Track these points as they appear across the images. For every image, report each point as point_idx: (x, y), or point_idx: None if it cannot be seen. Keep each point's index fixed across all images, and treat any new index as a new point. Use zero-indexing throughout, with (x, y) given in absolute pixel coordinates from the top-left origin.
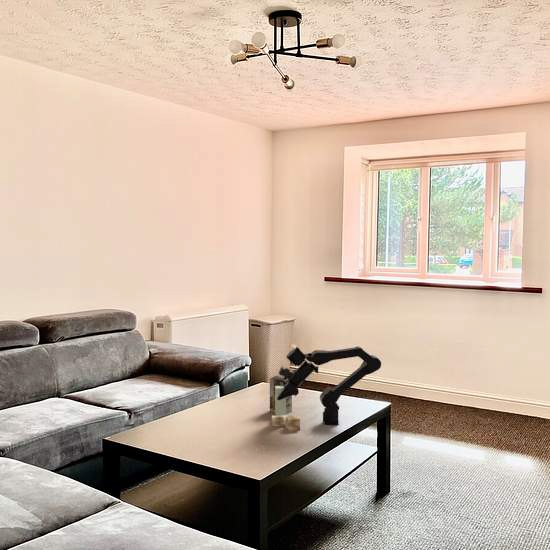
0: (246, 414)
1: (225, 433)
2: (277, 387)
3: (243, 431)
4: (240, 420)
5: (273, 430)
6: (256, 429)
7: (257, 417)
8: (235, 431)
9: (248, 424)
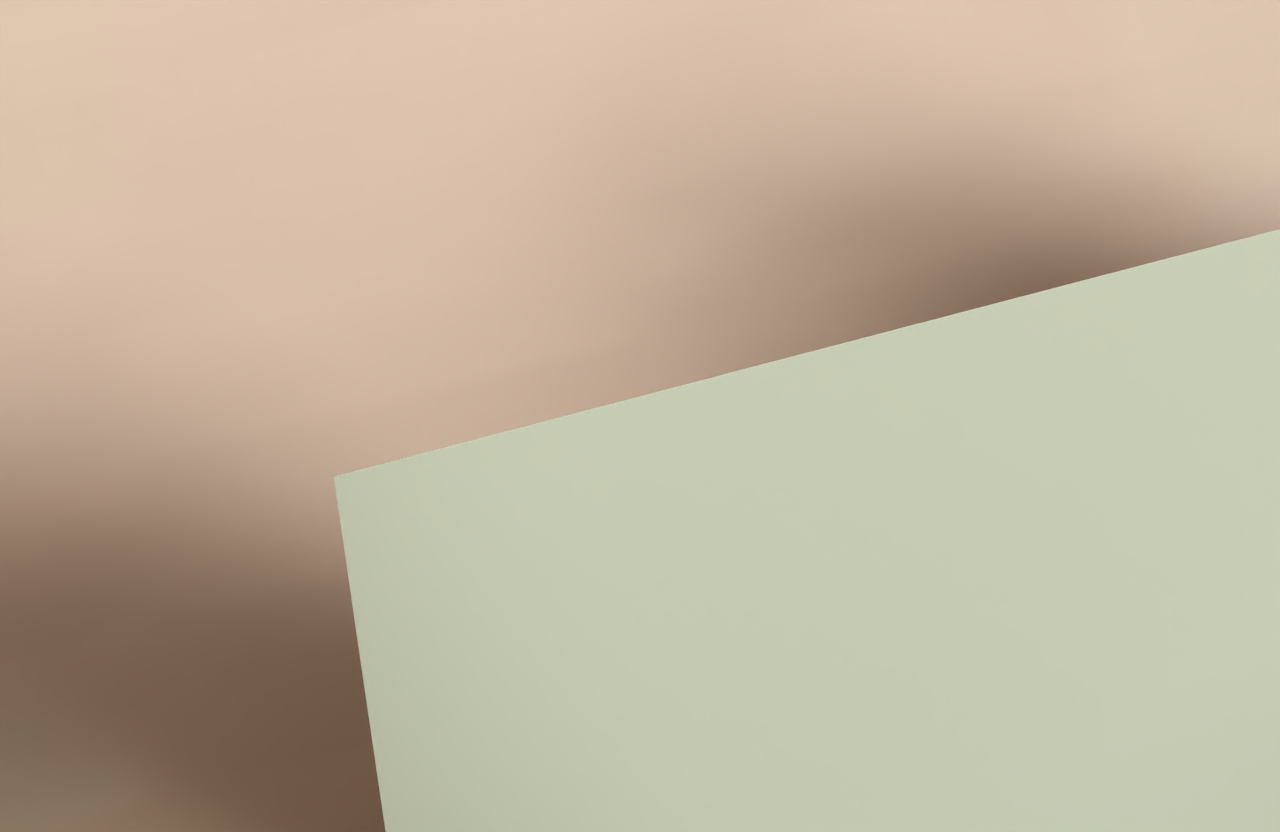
0: (1196, 25)
1: (26, 26)
2: (813, 577)
3: (138, 248)
4: (778, 34)
5: (235, 819)
6: (274, 438)
7: (1085, 258)
8: (133, 130)
9: (568, 220)
